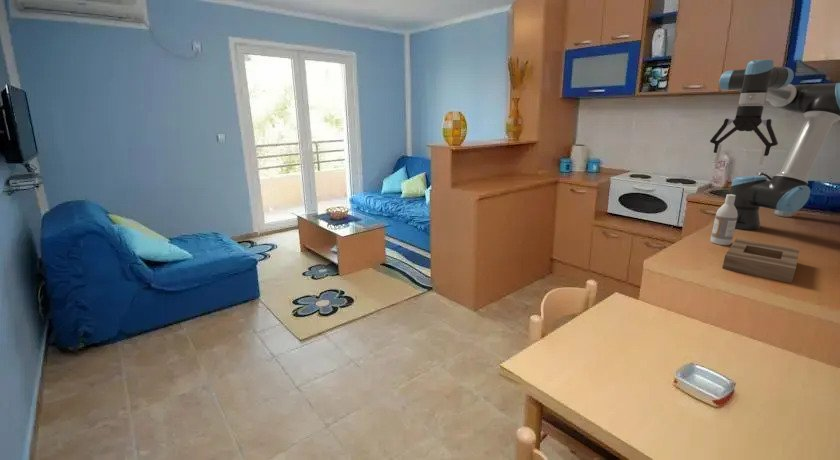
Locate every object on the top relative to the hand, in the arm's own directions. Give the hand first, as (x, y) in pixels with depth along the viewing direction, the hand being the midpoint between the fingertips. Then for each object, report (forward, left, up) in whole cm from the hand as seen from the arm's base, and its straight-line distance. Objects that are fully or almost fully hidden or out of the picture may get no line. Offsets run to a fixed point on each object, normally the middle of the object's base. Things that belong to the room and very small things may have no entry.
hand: (737, 163), depth 155 cm
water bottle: (-67, -29, -33) cm, 80 cm away
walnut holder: (+8, +23, -32) cm, 41 cm away
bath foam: (0, 0, -33) cm, 33 cm away
